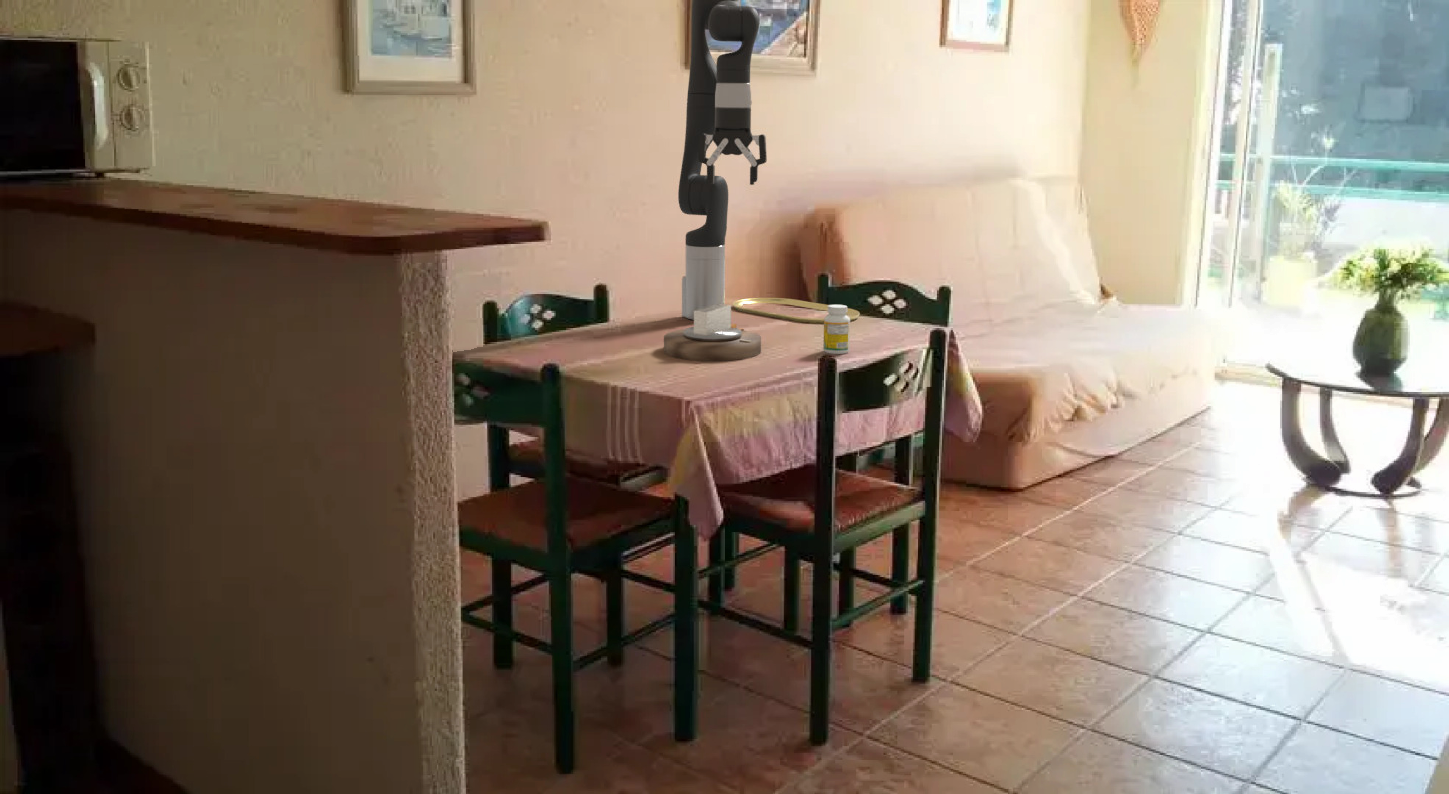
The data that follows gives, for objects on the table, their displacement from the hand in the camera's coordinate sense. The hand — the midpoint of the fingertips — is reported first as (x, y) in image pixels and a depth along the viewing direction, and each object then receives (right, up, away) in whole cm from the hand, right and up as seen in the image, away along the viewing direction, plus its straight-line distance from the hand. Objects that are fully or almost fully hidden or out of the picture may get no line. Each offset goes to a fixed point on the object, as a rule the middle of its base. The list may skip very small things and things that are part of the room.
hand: (732, 184), depth 273 cm
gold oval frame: (+15, -25, +40) cm, 50 cm away
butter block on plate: (-3, -32, -6) cm, 33 cm away
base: (-4, -36, -7) cm, 36 cm away
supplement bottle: (+22, -36, -6) cm, 42 cm away
